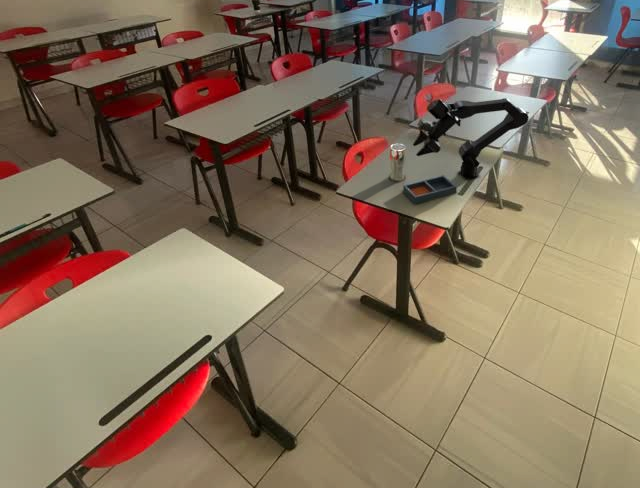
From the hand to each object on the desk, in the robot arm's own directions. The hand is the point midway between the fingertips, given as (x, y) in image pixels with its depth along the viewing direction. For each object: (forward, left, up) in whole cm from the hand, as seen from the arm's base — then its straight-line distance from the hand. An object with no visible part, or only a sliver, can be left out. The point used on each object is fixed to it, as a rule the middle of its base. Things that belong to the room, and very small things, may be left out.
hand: (415, 150), depth 176 cm
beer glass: (+7, -3, -13) cm, 15 cm away
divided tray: (0, +13, -13) cm, 19 cm away
